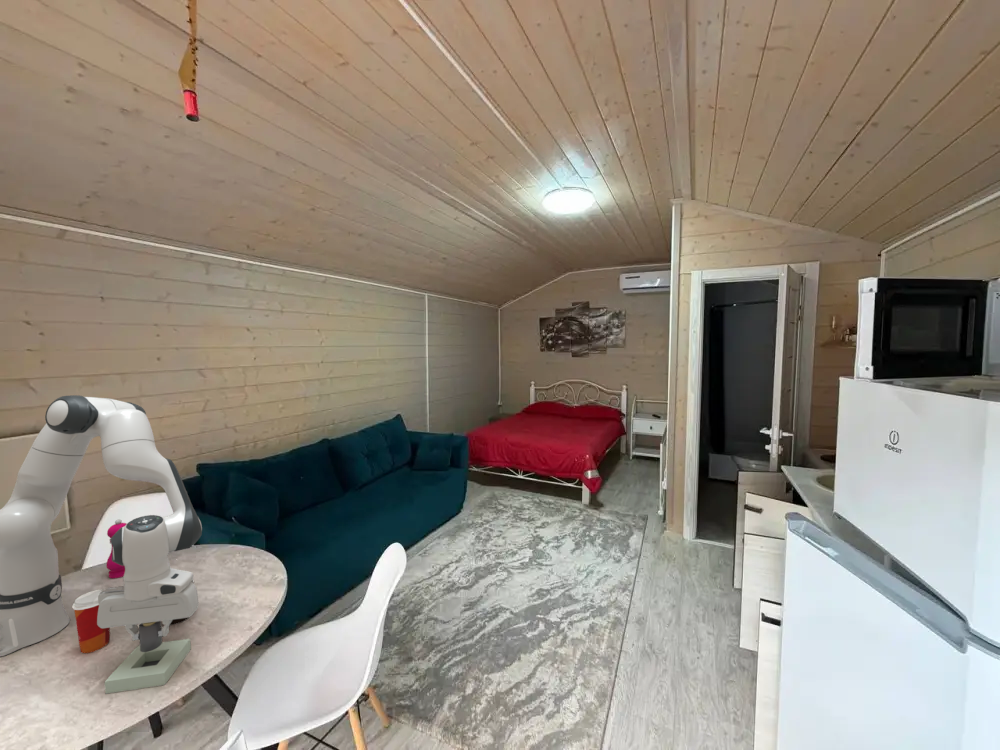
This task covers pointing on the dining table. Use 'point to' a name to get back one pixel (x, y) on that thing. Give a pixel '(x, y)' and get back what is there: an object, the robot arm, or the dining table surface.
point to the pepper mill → (114, 568)
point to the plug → (149, 636)
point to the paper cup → (89, 623)
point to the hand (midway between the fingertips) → (150, 637)
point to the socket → (148, 667)
